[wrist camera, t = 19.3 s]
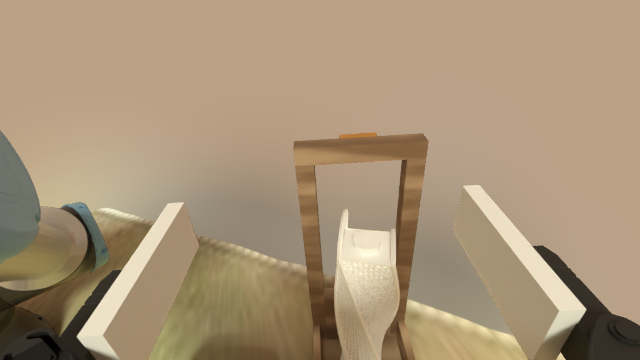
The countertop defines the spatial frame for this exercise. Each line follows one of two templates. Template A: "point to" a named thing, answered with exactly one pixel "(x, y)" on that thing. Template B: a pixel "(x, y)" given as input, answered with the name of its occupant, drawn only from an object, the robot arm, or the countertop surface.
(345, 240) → the skyscraper
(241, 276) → the countertop surface
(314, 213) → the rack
